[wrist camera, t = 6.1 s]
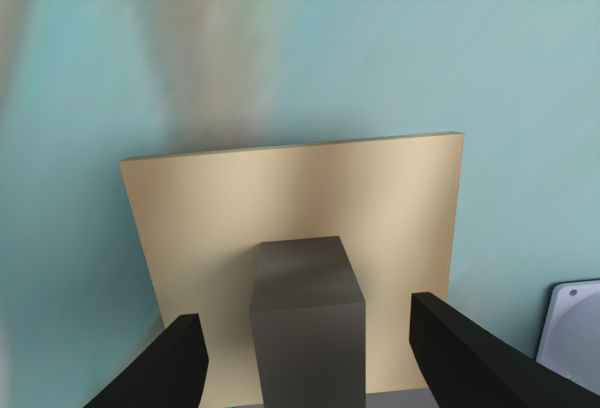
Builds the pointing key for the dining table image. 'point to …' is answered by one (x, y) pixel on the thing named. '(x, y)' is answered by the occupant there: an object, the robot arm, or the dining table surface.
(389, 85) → the dining table surface
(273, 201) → the lid
